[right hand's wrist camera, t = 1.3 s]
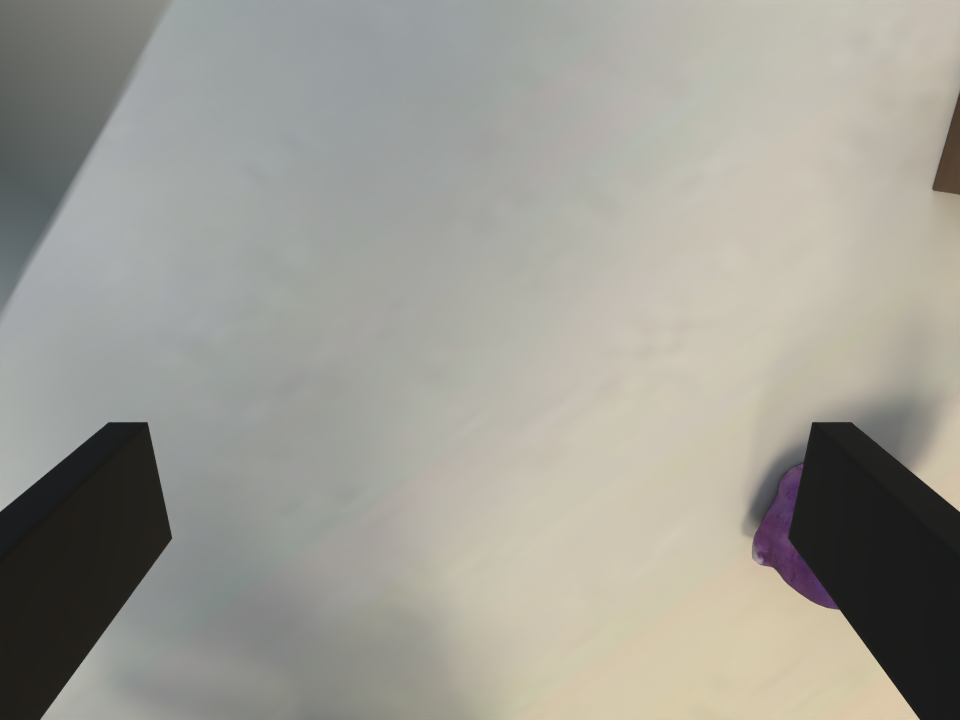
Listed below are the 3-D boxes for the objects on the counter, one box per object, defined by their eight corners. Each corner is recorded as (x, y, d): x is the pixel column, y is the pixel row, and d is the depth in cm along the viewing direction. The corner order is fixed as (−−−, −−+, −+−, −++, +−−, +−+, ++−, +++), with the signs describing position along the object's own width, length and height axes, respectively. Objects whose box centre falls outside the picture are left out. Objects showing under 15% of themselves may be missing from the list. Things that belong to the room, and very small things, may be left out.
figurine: (935, 448, 40) (1178, 625, 26) (859, 574, 44) (1038, 788, 30) (799, 413, 39) (976, 577, 25) (733, 544, 43) (856, 751, 29)
